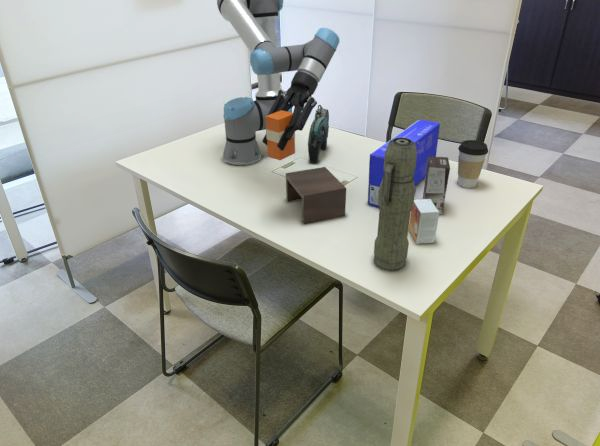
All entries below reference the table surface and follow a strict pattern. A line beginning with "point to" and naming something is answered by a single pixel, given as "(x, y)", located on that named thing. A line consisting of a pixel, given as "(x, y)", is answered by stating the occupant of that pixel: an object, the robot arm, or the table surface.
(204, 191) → the table surface
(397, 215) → the thermos
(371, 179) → the blue cardboard box
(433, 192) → the coffee box
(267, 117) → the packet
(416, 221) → the small box
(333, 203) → the small wooden table
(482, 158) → the coffee cup
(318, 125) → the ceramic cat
